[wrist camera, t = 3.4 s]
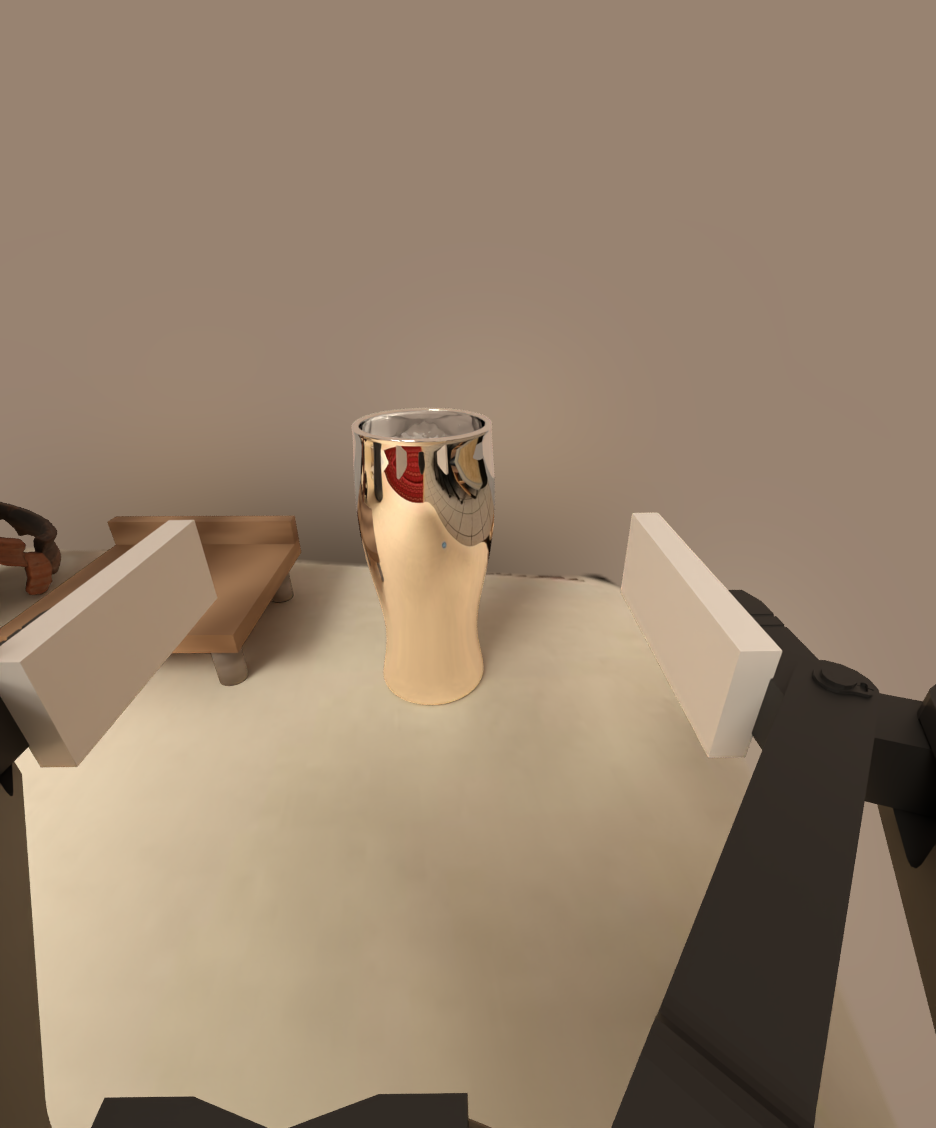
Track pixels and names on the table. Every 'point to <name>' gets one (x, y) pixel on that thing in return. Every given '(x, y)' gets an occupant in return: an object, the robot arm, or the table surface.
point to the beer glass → (427, 542)
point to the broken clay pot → (46, 549)
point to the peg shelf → (238, 570)
